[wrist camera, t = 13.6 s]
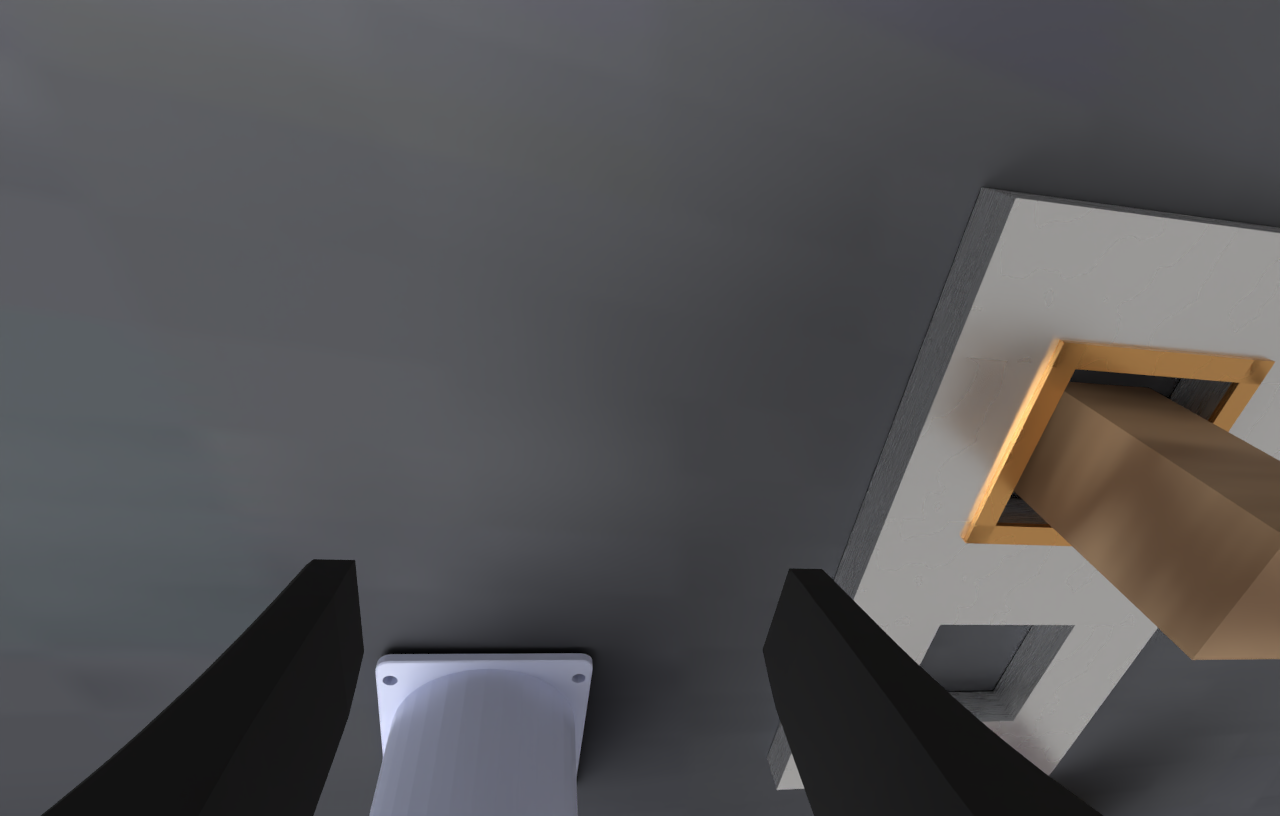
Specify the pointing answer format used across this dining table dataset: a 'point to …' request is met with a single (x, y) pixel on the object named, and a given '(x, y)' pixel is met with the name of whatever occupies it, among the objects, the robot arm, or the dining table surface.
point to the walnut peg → (1166, 515)
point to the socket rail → (1015, 420)
